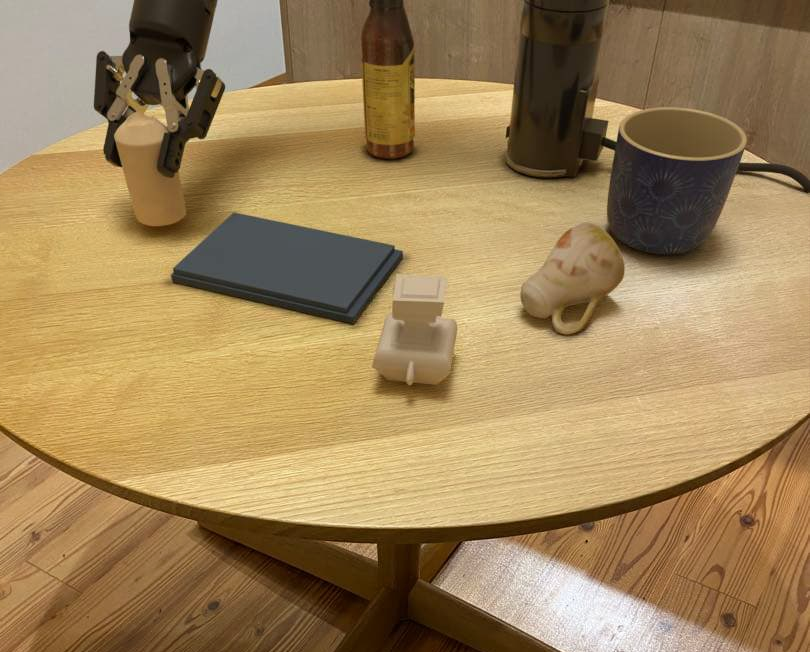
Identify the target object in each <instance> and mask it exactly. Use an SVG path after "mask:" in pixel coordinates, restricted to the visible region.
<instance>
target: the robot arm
mask: <svg viewBox="0 0 810 652" xmlns="http://www.w3.org/2000/svg"><path fill="white" fill-rule="evenodd" d="M609 3H610V0H522V3H521V12H520V22H519V32H518V41H517V49H516V50H517V51H516V60H515V72H514V79H513V88H512V89H513V90H512V100H511V108H510V109H511V110H510V119H509V125H508V126H507V127H506V130H505V139H507V145H506V146H507V148H506V151H505V152H506V153H505V162H506V164H507V165H508V166H509V167H510V168H511V169H513V170H514V171H516V172H518V173H519V174H523V175H526V176H531V177H537V178H560V177H561V178H562V177H569V178H575V177H576V175H577V173H578V172H579V170H580V169H581V167H582V166H583V163H584V161H585V160H587V161H594V162H598V159H599V157H600V156H601V154H602V151H603V149H604V148H607V149H609V150H611V151H614V152H615V147H616V142H617V140H613V139H611V138H609V137H607V133H608V128H609V127H608V126H609V123H610V122H609V120H606V119H599V118H594V117H593V116H594V110H595V105H596V98H597V92H598V87H599V81H600V74H599V73H598V68H599V62H600V56H601V51H602V45H603V39H604V32H605V29H606V28H605V27H606V21H607V17H608V16H607V15H608V10H609V5H610V4H609ZM217 6H218V0H133V4H132V9H131V13H130V18H129V23H128V31H129V43H128V45H127V47H126V48H125V49H124V51H123V53H122V55H110V54H108V53H107V52H106V51H104V50H100V51H99V52H98V53H97V54H96V57H95V59H96V60H95V74H94V75H95V76H94V77H95V78H94V91H93V92H94V94H93V109H94V110H95V112H97V113H98V114H100V115H101V116H102V117H104V118H105V119H106V120H107V124H108V125H107V129H106V133H105V134H106V135H105V139H104V143H103V147H102V148H103V149H102V150H103V155H104V158H105V160H106V161H107V162H108V163H109V164H110V165H112V166H114V167H117V168H122V164H121V161H120V157H119V153H118V149H117V146H116V142H115V138H114V135H115V133H116V131H117V129H118V128H119V127H120V126H121V125H122V124H123V123H124V122H125V121H126V120H127V118H128V117H129V116H130V115H132V114H133V113H135V112H141V113H143V114H145V112H146V111H147V109H148V108H149V106H159V105H160V106H161V107H162V108H163V110H164V113H165V121H166V126H167V128H168V130H169V132H168V133H165V132H164V136H163V140H162V145H161V149H160V154H159V158H158V163H157V170H158V172H160V173H161V174H162V175H164V176H165V177H169V178H173V177H174V175H175V173H177V172H179V171H180V169H181V165H182V160H183V156H184V152H185V147H186V144H187V143H188V142H189V141H190V140H191V139H192V140H193V139H196V138H197V139H199V140H204V139H205V138H207V135H208V134H209V131H210V128H211V125H212V123H213V120H214V118H215V116H216V113H217V110H218V108H219V105H220V103H221V101H222V98H223V96H224V93H225V90H226V84H225V83H224V81H223V80H222V78H220V77H219V76H218V74H217V73H216V72H214V70H213V69H211V68H207V69H205V70H204V69H202V65H201V63H202V62H203V61H204V60H205V57H206V55H207V54H206V53H207V49H208V44H209V40H210V36H211V31H212V28H213V24H214V23H213V22H214V17H215V13H216V9H217ZM124 73H125V76H124ZM194 88H195V89H196V90H195V93H194V95H193V98H192V101H191V104H190V106H189V99H188V95H190V92H192V90H193V89H194ZM133 94H134V95H135V96H136V97H137V98H133V97H132V95H133ZM737 172H751V173H752V172H756V173H771V174H772V173H773V174H778V175H783V176H786V177H789V178H791V179H793V180H794V181H796V182H797V184H799V185H800V186H801V187H802V188H803V190H804V191H805V193H807V194H809V195H810V179H809V178H808V177H807V176H806V175H805V174H804V173H802V172H801V171H799V170H798V169H796V168H794V167H791V166H788V165H785V164H784V165H783V164H779V163H770V162H769V163H767V162H740V164H739V166H738V169H737Z"/></svg>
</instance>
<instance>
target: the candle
mask: <svg viewBox="0 0 810 652" xmlns="http://www.w3.org/2000/svg"><path fill="white" fill-rule="evenodd" d="M164 132H165V133H168V132H169V130H168V128H167V125H165V124H164V123H163V122H161V120H159V119H158V118H157V117H156V116H155V115H151V116H148V115H147V114H145V113H144V114H143V113H141V112H135V113H133V114H132V115H130V116H129V117H128V118H127V120H126V121H125V122H124V123H123V124H122V125H121V126H120V127H119V128H118V129H117V131H116V133H115V135H114V138H115V142H116V146H117V149H118V153H119V157H120V161H121V164H122V167H121V169H122V172H123V176H124V179H125V183H126V186H127V190H128V194H129V198H130V202H131V206H132V210H133V213H134V216H135V218H136V220H137V221H138V222H139V223H141V224H143V225H146V226H150V227H162V226H163V227H164V226H169V225H174V224H175V223H178V222H179V221H181V220H182V219H184V217H185V216H186V214H187V206H186V200H185V196H184V191H183V187H182V182H181V177H180V172H179V171H178V172H177V173H175V175H174V177H173V178H169V177H165V176H164V175H162V174H161V173H160V172H158V170H157V163H158V158H159V154H160V149H161V145H162V140H163V136H164Z"/></svg>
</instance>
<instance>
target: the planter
mask: <svg viewBox="0 0 810 652" xmlns="http://www.w3.org/2000/svg"><path fill="white" fill-rule="evenodd" d="M747 144H748V139H747V135H746V133H745V131H744V130H743V129H742V128H741V127H740V126H739V125H738V124H736V123H735V122H733V121H731V120H729V119H727V118H725V117H723V116H721V115H719V114H715V113H713V112H708V111H704V110H700V109H695V108H688V107H675V106H669V107H668V106H661V107H659V106H658V107H650V108H645V109H641V110H638V111H635V112H632V113H630V114H628V115H627V116H625V117H624V118H623V119H622V120H621V121H620V123H619V125H618V130H617V136H616V147H615V151H614V154H613V159H612V160H613V161H612V164H611V165H612V167H611V172H610V177H609V185H608V193H607V200H606V201H607V202H606V203H607V205H606V216H607V217H606V218H607V223H608V226H609V229H610V231H611V232H612V234H613V235H614V236H615V237H616V239H618V240H619V241H620V242H621V243H624V244H625V245H627V246H628V247H630V248H632V249H635V250H637V251H641V252H645V253H649V254H655V255H677V254H681V253H685V252H688V251H691V250H693V249H695V248H698V247H699V246H701V245H702V244H703V243H704V242H706V240H708V238H709V237H710V236H711V234H712V232H713V231H714V229H715V227H716V226H717V223H718V221H719V219H720V217H721V214H722V212H723V210H724V207H725V205H726V202H727V199H728V198H729V195H730V191H731V188H732V185H733V183H734V180H735V178H736V175H737V172H738V171H737V169H738V166H739V164H740V163H741V161H742V158H743V155H744V152H745V149H746V146H747Z"/></svg>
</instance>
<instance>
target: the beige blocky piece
mask: <svg viewBox="0 0 810 652" xmlns="http://www.w3.org/2000/svg"><path fill="white" fill-rule="evenodd" d="M447 282H448V276H444V275H442V276H441V275H425V274H423V275H421V274H404V273H403V274H402V273H401V274H400V273H396V275H395V279H394V284H393V288H392V304H391V305H392V306H391V307H392V308H391V312H388V313H386V315H385V318H384V322H383V326H382V329H381V332H380V335H379V336H380V337H379V340H378V342H377V347H376V350H375V353H374V357H373V361H372V368H373V369H374V370H375V371H376V372H377V373H379V374H380V375H382V376H383V377H385V379H386V380H387V381H393V382H405V383H406V384H407V385H408V386H411V385H413V383H414V384H424V385H436V386H437V385H439V383H440V382H442V381H443V380H445V379H446V378H447V377H448V376H450V374H451V370H452V369H451V367H452V362H453V358H454V357H453V356H454V352H455V347H456V340H457V335H458V323H457V322H456V320H455V319H454V318H449V317H442V315H443V311H444V304H445V297H446V289H447Z"/></svg>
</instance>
